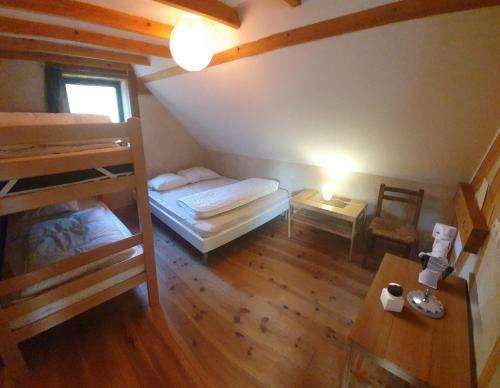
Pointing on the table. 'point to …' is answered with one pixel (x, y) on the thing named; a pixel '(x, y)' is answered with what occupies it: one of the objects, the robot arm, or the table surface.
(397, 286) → the medicine bottle
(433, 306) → the sprocket
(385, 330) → the table surface
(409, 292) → the sprocket base
